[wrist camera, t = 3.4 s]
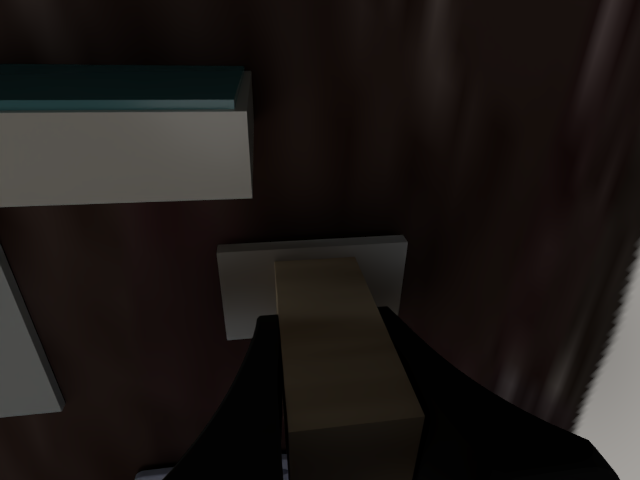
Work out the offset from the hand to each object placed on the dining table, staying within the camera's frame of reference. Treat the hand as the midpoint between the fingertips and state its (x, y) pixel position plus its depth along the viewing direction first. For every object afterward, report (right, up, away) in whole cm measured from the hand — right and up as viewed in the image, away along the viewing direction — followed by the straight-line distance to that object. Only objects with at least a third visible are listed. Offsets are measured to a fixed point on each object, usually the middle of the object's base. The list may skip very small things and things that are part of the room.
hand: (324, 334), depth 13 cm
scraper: (0, +1, +3) cm, 3 cm away
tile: (-6, +8, -1) cm, 10 cm away
